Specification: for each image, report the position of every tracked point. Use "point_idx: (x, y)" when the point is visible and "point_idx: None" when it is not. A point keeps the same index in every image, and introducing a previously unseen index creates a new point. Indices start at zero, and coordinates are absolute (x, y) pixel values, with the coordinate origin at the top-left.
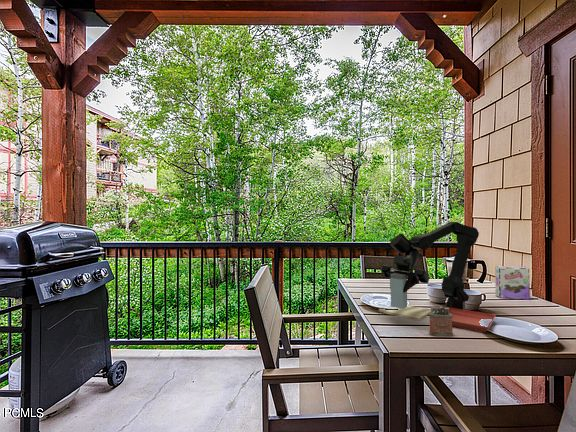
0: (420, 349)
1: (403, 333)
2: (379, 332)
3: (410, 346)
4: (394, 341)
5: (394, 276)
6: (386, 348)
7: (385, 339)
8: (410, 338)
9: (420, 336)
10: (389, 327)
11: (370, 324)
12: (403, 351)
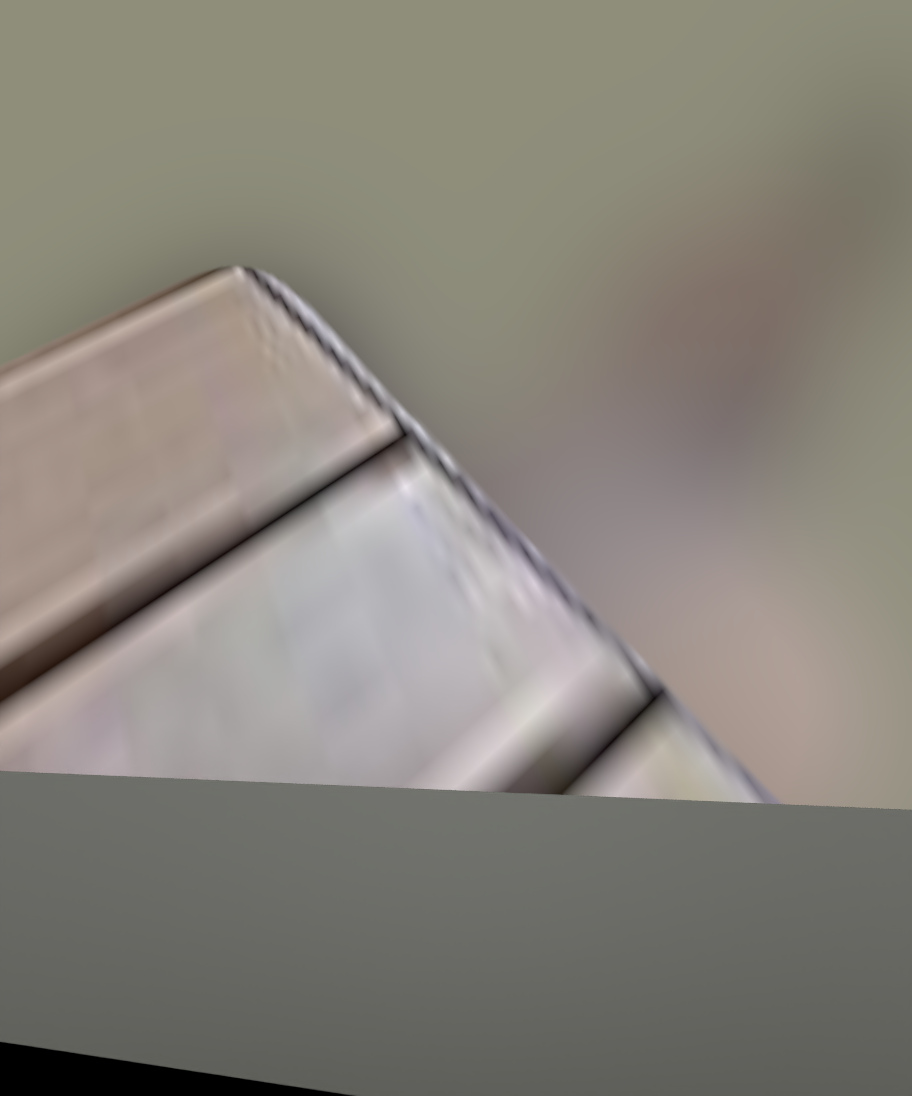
0: (32, 400)
1: (249, 651)
2: (458, 530)
3: (118, 408)
4: (262, 425)
5: (700, 817)
6: (271, 295)
7: (342, 421)
8: (152, 565)
9: (63, 682)
10: (446, 733)
11: (656, 684)
12: (149, 311)
